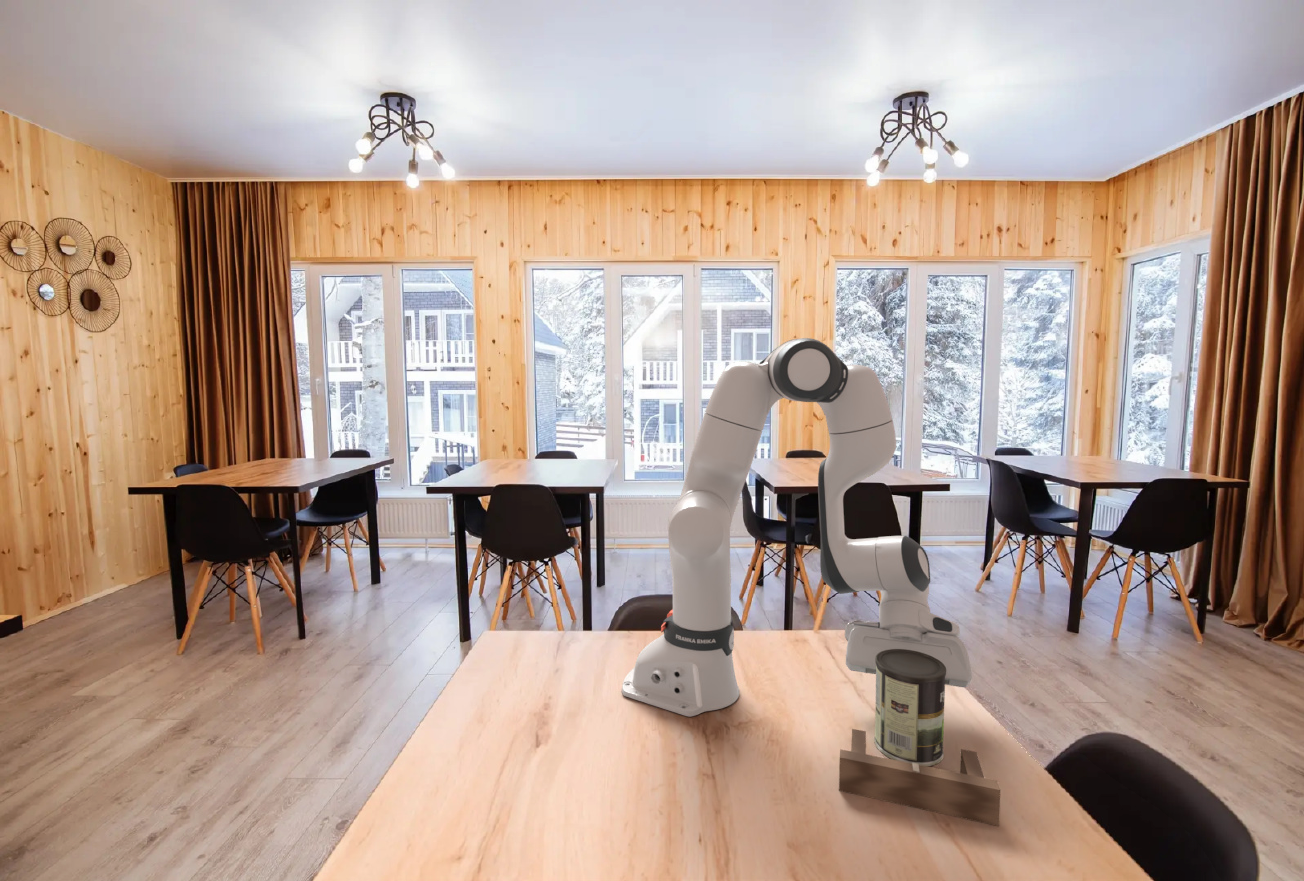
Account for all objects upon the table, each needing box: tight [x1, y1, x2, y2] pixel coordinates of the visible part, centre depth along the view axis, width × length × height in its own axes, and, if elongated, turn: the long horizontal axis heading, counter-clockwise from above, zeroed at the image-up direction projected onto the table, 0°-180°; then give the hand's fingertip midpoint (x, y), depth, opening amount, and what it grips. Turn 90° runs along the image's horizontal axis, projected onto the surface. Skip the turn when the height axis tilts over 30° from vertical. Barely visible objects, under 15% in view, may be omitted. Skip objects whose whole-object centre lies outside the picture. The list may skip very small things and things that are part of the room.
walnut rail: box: [838, 728, 1001, 827], centre depth 82 cm, size 20×8×5 cm, turn 69°
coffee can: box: [873, 649, 946, 767], centre depth 92 cm, size 10×10×14 cm
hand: (907, 703), depth 97 cm, fingers closed, pressing on coffee can
